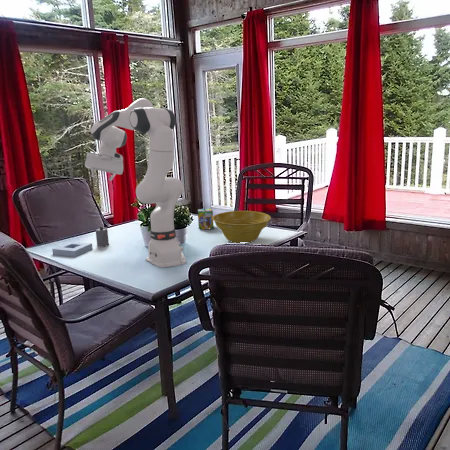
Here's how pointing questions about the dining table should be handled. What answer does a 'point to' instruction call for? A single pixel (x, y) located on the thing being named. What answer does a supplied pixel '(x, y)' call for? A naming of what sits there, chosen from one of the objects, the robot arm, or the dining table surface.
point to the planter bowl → (241, 225)
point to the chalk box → (205, 218)
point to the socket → (72, 249)
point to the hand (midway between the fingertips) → (101, 178)
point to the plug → (102, 237)
